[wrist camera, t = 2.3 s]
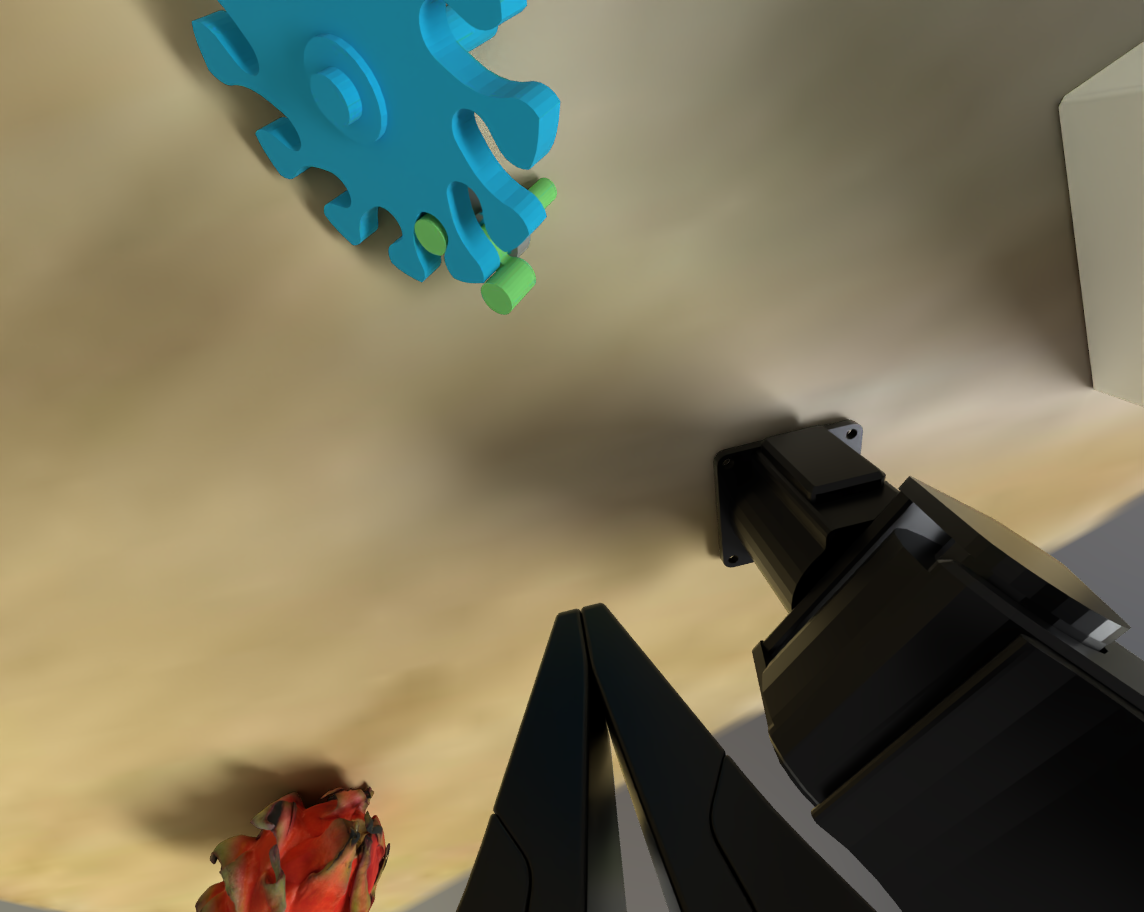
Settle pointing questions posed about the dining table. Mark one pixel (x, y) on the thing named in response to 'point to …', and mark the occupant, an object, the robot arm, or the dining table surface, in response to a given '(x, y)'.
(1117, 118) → the gable box
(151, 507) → the dining table surface
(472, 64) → the gear
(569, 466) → the dining table surface
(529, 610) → the dining table surface
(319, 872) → the dragon fruit
